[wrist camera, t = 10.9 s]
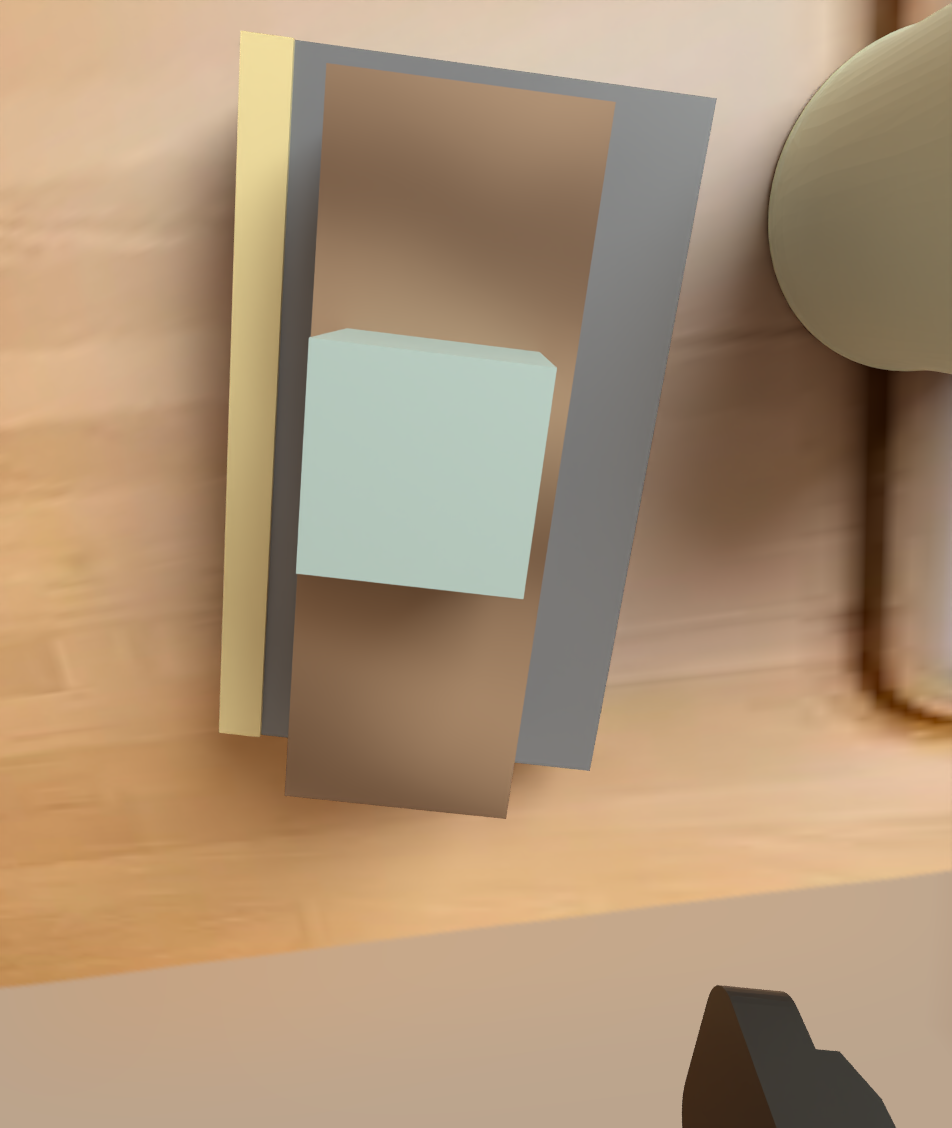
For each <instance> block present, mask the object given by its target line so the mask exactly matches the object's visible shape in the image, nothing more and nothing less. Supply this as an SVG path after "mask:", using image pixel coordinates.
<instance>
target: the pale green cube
mask: <svg viewBox="0 0 952 1128" xmlns="http://www.w3.org/2000/svg"><path fill="white" fill-rule="evenodd" d="M556 372H557V367H555V366H554V365H553V364H552V363H551V362H550V361H549V360H548V359H547V358H546V357H545V356H544V355H542V354H541V353H540V352H536V351H528V350H520V349H512V348H504V347H495V346H487V345H479V344H471V343H463V342H455V341H447V340H439V339H430V338H422V337H414V336H406V335H398V334H390V333H382V332H373V331H365V330H357V329H349V328H346V329H342V330H338V331H333V332H329V333H325V334H321V335H317V336H313V337H309V345H308V363H307V381H306V399H305V417H304V436H303V454H302V472H301V490H300V508H299V527H298V545H297V563H296V574H305V575H313V576H322V577H331V578H340V579H349V580H358V581H367V582H375V583H384V584H393V585H402V586H411V587H420V588H429V589H437V590H446V591H455V592H464V593H473V594H482V595H490V596H499V597H508V598H517V599H523V598H524V592H525V585H526V578H527V571H528V564H529V557H530V550H531V543H532V537H533V530H534V523H535V516H536V509H537V502H538V495H539V488H540V482H541V475H542V468H543V461H544V454H545V447H546V440H547V433H548V427H549V420H550V413H551V406H552V399H553V392H554V385H555V378H556Z"/></svg>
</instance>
